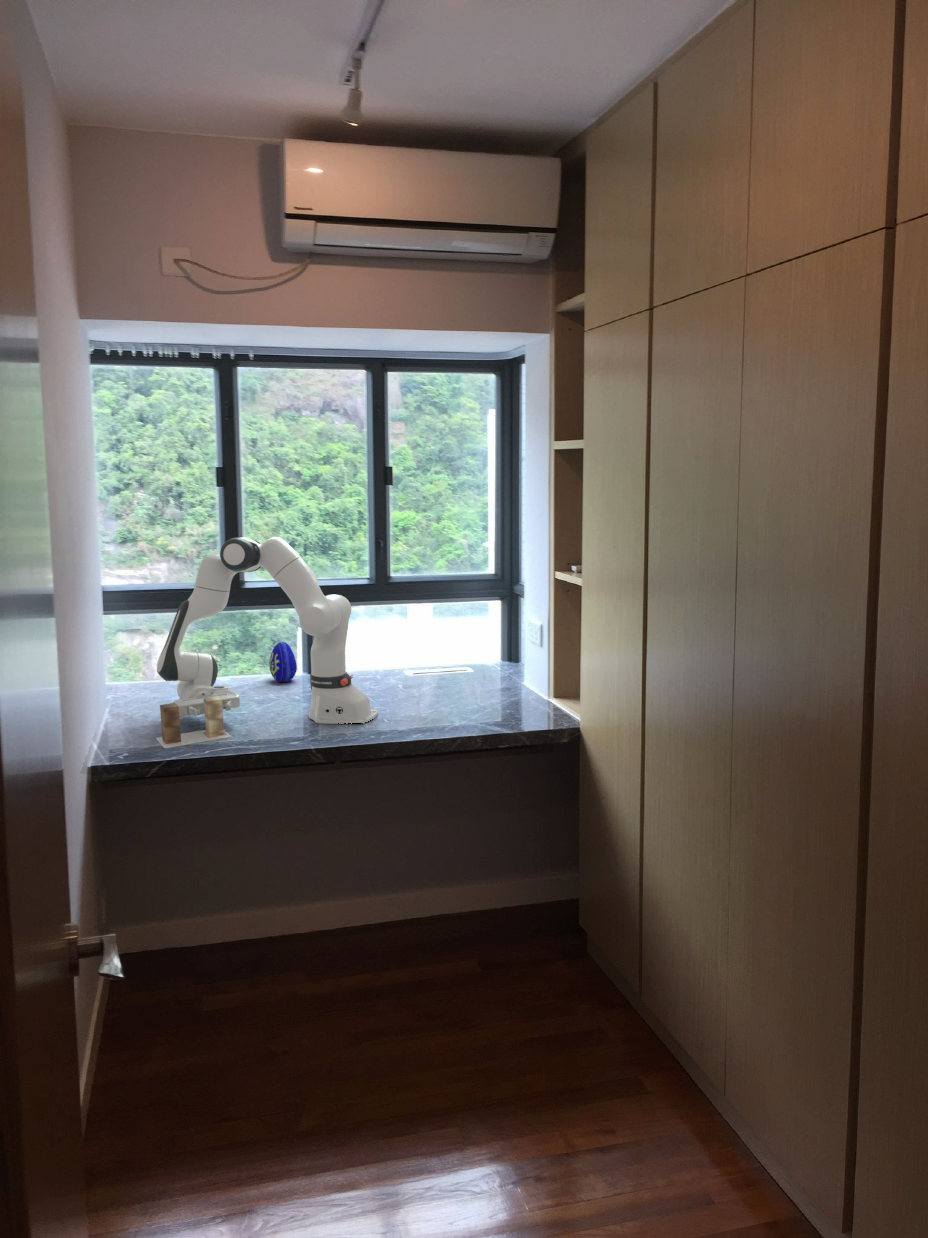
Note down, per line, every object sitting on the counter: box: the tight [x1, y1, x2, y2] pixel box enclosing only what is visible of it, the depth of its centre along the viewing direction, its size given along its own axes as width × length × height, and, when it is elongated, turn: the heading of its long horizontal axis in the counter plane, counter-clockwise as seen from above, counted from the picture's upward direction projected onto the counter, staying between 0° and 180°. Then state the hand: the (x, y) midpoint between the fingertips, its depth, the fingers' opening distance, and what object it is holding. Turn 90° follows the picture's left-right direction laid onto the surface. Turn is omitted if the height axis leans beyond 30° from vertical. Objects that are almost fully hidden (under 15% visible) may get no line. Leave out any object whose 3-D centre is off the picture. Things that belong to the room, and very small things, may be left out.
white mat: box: [155, 729, 232, 749], centre depth 286 cm, size 20×11×1 cm, turn 121°
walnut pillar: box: [159, 702, 182, 744], centre depth 282 cm, size 4×4×11 cm
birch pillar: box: [204, 696, 225, 736], centre depth 288 cm, size 4×4×11 cm
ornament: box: [268, 641, 298, 683], centre depth 350 cm, size 11×9×15 cm
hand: (213, 710), depth 288 cm, fingers open, 8 cm apart
